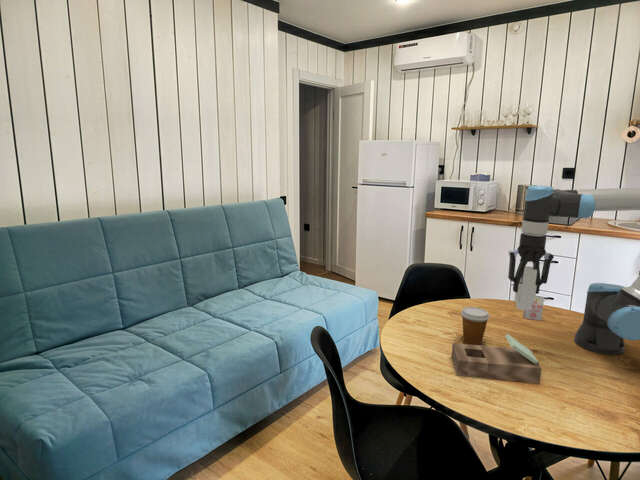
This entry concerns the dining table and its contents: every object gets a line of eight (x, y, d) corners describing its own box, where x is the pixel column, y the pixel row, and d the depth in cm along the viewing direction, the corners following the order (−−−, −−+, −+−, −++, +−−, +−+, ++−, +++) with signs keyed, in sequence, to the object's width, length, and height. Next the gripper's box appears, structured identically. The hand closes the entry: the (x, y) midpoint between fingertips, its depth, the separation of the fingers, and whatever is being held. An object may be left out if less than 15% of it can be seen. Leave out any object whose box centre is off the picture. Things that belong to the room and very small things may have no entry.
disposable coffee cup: (488, 349, 145) (492, 317, 143) (460, 346, 147) (463, 314, 145) (483, 337, 155) (487, 307, 152) (457, 335, 156) (460, 305, 154)
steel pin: (527, 306, 141) (533, 266, 138) (531, 310, 137) (537, 269, 134) (515, 305, 142) (520, 265, 139) (518, 309, 138) (524, 269, 135)
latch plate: (529, 353, 133) (531, 351, 133) (537, 365, 125) (539, 363, 125) (504, 335, 133) (506, 333, 133) (511, 347, 126) (513, 344, 125)
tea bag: (522, 315, 177) (525, 293, 175) (540, 318, 174) (543, 295, 172) (523, 318, 174) (526, 295, 172) (541, 321, 171) (544, 298, 169)
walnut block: (527, 364, 136) (529, 350, 135) (539, 383, 124) (541, 368, 123) (451, 356, 140) (452, 342, 139) (456, 375, 128) (458, 360, 127)
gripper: (557, 233, 136) (547, 300, 141) (503, 230, 139) (494, 295, 144) (566, 237, 129) (555, 308, 134) (508, 234, 132) (499, 303, 137)
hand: (524, 301), depth 139 cm, fingers closed on steel pin, 4 cm apart
